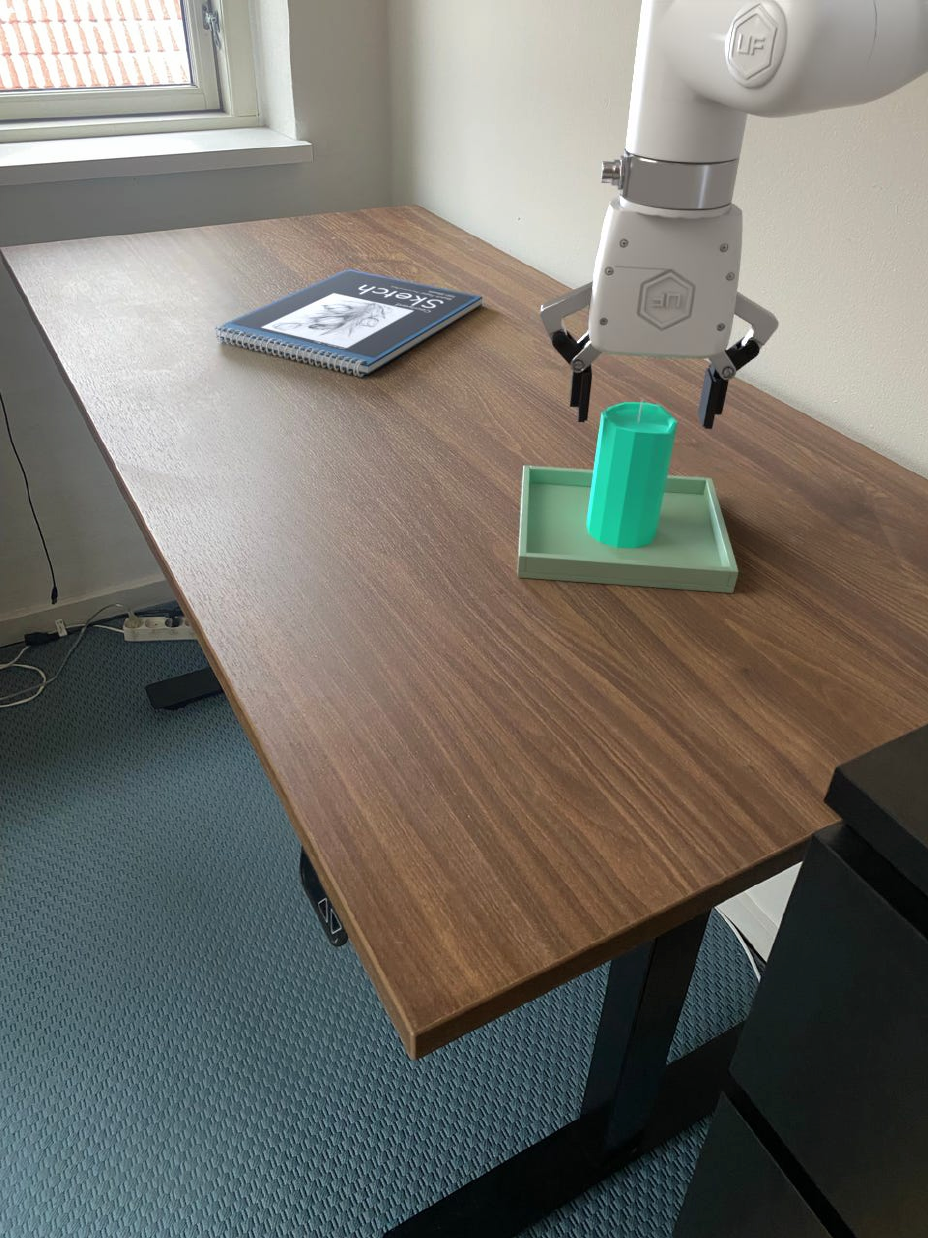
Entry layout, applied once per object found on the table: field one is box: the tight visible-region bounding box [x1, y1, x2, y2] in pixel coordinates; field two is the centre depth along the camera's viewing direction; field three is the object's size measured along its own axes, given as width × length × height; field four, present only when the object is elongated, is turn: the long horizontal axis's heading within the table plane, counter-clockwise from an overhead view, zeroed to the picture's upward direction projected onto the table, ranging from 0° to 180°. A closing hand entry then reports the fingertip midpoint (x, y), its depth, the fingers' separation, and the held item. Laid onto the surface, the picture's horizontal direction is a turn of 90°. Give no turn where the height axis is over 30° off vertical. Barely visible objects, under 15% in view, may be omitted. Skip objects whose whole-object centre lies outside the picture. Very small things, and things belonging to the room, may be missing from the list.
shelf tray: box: [516, 465, 739, 594], centre depth 79 cm, size 17×15×2 cm
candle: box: [586, 397, 678, 548], centre depth 76 cm, size 6×6×12 cm
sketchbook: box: [215, 268, 483, 378], centre depth 118 cm, size 22×30×2 cm
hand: (643, 418), depth 73 cm, fingers open, 9 cm apart
